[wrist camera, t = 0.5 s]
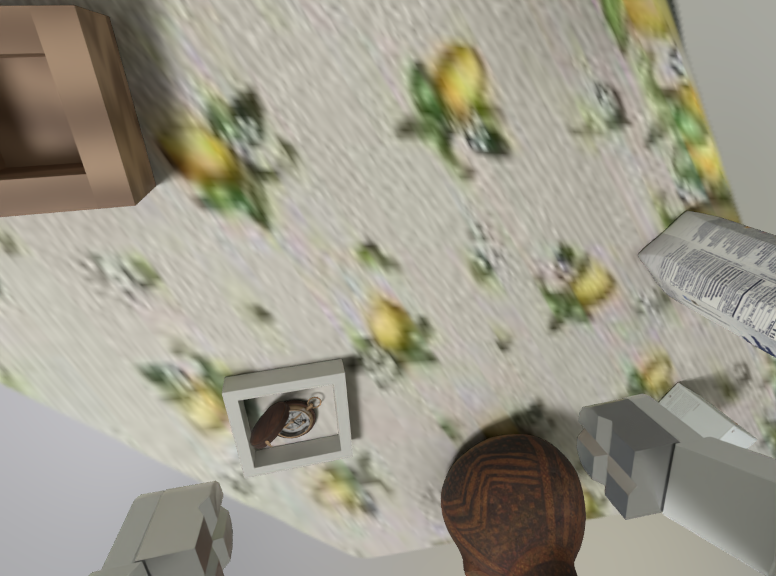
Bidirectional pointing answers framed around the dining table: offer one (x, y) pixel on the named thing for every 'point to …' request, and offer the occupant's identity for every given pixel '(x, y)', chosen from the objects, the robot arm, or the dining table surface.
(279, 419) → the compass
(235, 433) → the watch tray
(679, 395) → the small box
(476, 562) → the jug
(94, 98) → the holder
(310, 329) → the dining table surface
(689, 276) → the juice carton
